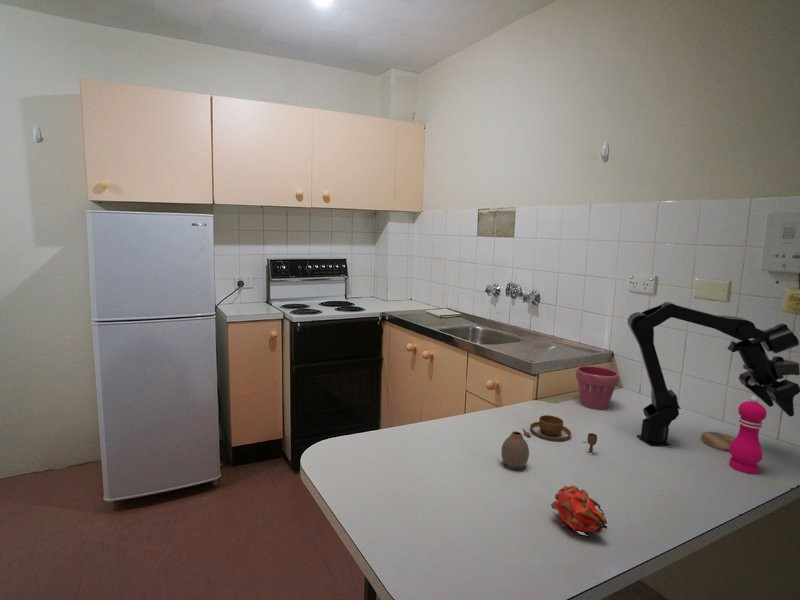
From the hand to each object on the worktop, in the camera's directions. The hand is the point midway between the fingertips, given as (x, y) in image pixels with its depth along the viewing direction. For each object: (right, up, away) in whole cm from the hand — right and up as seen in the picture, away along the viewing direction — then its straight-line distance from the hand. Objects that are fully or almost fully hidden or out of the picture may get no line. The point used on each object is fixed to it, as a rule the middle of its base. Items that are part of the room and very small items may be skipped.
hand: (781, 410), depth 130 cm
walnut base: (-9, -13, +11) cm, 19 cm away
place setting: (-60, -11, +9) cm, 61 cm away
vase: (-76, -12, -9) cm, 78 cm away
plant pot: (-35, -7, +40) cm, 54 cm away
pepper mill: (-13, -15, -4) cm, 20 cm away
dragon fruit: (-69, -16, -34) cm, 79 cm away
